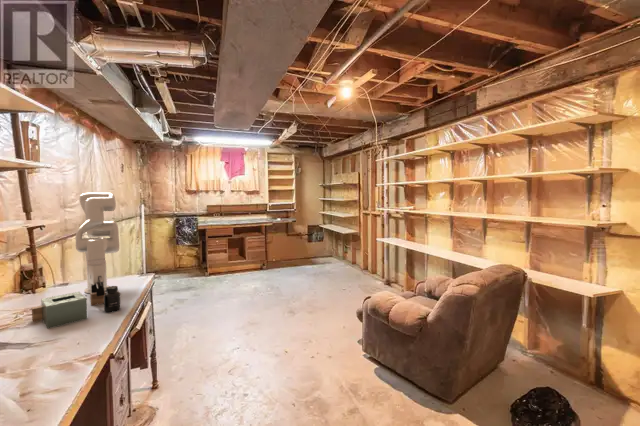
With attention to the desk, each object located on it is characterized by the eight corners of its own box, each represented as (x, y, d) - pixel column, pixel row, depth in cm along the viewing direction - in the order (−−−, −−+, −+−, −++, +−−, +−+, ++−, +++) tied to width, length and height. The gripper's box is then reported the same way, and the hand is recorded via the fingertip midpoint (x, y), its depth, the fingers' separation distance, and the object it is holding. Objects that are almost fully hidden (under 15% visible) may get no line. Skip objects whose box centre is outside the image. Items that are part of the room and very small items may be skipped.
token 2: (90, 304, 159) (90, 293, 159) (104, 301, 164) (103, 290, 164) (92, 305, 158) (91, 294, 157) (105, 302, 162) (105, 291, 162)
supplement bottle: (112, 313, 147) (111, 289, 147) (100, 312, 149) (99, 288, 148) (123, 308, 154) (123, 285, 153) (112, 307, 155) (112, 284, 155)
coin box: (42, 319, 139) (41, 298, 139) (79, 311, 150) (79, 291, 149) (47, 328, 130) (46, 306, 130) (87, 318, 141) (86, 298, 140)
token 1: (32, 320, 139) (31, 307, 139) (49, 316, 144) (48, 303, 144) (33, 321, 137) (32, 309, 137) (50, 317, 142) (49, 305, 142)
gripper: (83, 261, 162) (84, 292, 162) (92, 265, 151) (93, 298, 151) (100, 259, 168) (101, 289, 168) (109, 263, 156) (111, 295, 157)
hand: (97, 294), depth 160 cm, fingers open, 9 cm apart
